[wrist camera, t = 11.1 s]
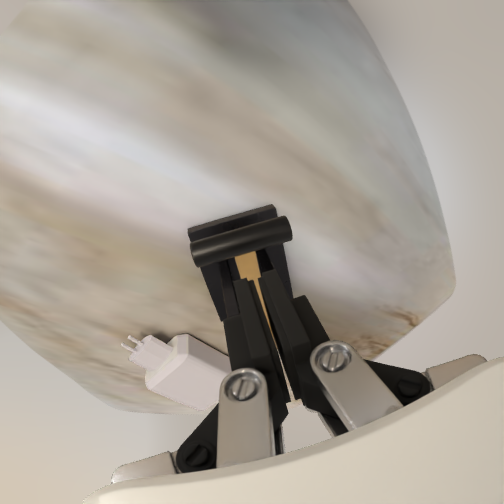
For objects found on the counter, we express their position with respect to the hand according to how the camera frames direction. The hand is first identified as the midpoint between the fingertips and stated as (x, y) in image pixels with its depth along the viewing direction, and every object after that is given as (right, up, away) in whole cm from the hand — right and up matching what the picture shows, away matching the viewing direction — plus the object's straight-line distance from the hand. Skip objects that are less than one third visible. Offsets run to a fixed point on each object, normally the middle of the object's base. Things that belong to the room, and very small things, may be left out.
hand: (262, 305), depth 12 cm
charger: (-11, -12, +26) cm, 31 cm away
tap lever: (0, 0, +9) cm, 9 cm away
